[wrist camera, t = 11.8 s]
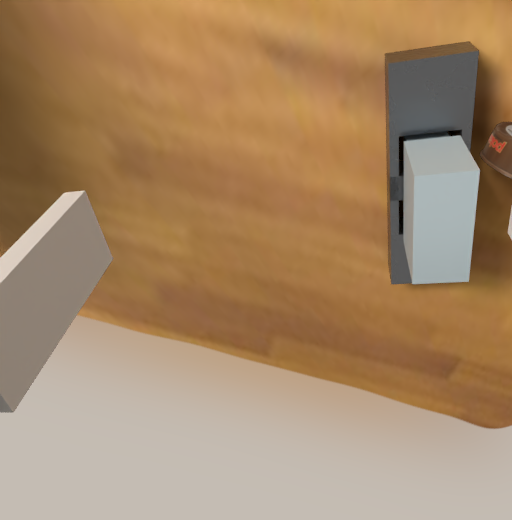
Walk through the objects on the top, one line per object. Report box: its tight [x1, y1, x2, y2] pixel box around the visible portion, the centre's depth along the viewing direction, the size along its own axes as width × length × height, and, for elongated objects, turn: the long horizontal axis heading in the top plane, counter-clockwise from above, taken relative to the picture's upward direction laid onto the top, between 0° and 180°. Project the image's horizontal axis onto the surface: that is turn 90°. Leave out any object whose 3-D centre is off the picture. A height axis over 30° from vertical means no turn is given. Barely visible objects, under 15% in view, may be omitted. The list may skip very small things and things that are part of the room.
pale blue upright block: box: [403, 131, 480, 284], centre depth 37 cm, size 4×9×10 cm, turn 10°
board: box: [385, 42, 479, 284], centre depth 40 cm, size 6×20×3 cm, turn 10°
